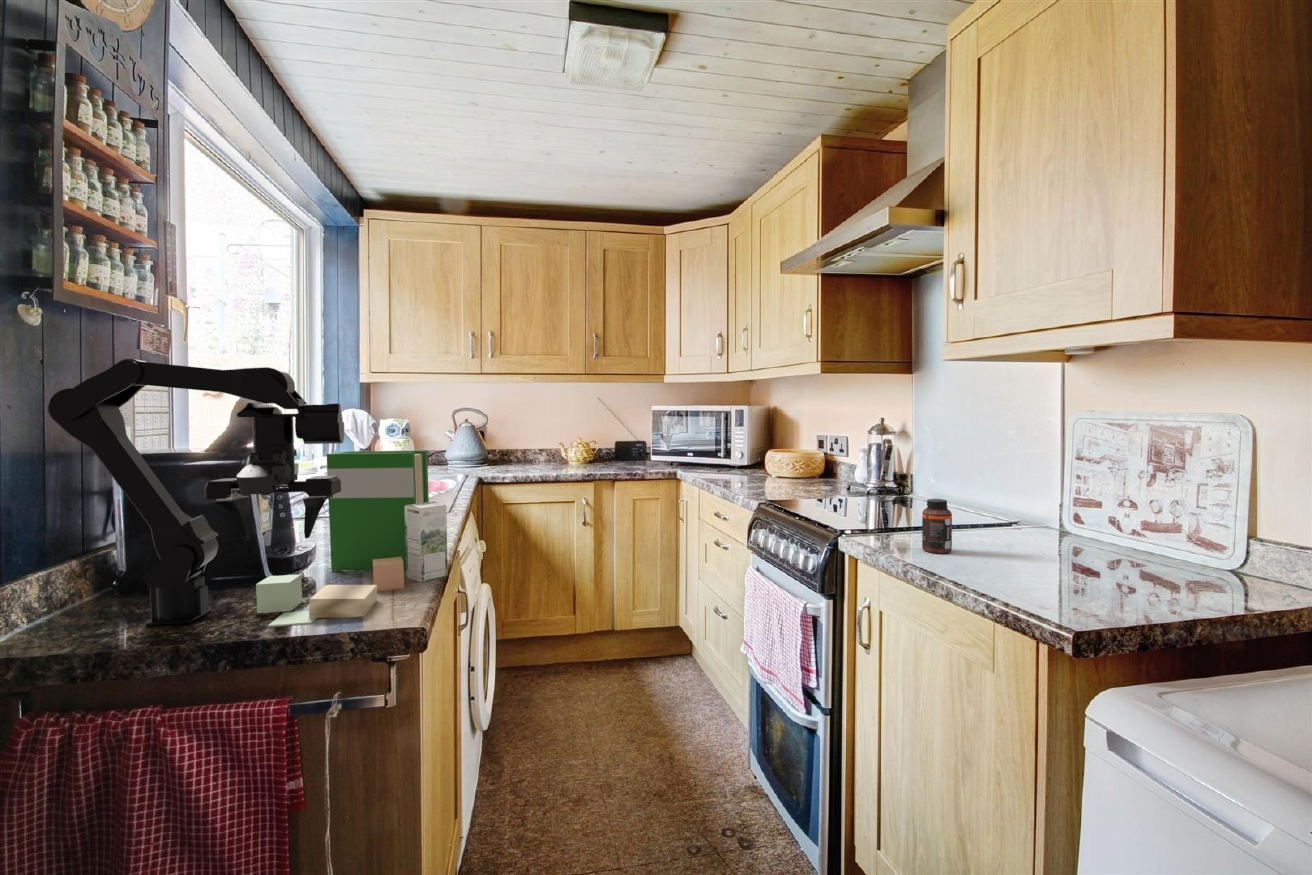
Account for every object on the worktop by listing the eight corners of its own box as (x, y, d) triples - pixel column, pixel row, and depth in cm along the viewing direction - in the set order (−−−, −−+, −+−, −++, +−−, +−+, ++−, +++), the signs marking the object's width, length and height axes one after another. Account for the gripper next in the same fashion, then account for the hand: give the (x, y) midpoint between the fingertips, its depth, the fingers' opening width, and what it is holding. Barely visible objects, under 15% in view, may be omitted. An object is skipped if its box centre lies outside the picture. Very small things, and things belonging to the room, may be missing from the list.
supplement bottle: (956, 554, 135) (957, 501, 134) (928, 554, 135) (929, 502, 134) (944, 547, 141) (944, 497, 140) (917, 548, 141) (917, 498, 140)
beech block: (308, 617, 98) (309, 598, 98) (325, 602, 106) (326, 584, 106) (363, 617, 100) (364, 598, 99) (376, 602, 107) (377, 584, 107)
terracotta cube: (374, 593, 113) (373, 565, 113) (373, 586, 117) (372, 559, 117) (404, 589, 115) (403, 562, 115) (402, 582, 120) (401, 556, 119)
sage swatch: (268, 627, 95) (268, 625, 95) (284, 615, 101) (283, 612, 101) (311, 624, 96) (311, 622, 96) (324, 612, 102) (324, 609, 102)
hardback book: (430, 561, 135) (427, 450, 134) (416, 570, 128) (412, 452, 127) (350, 562, 136) (345, 451, 135) (331, 571, 129) (326, 454, 127)
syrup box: (432, 572, 126) (430, 500, 126) (449, 577, 123) (446, 503, 122) (405, 578, 122) (403, 504, 121) (422, 583, 118) (419, 507, 117)
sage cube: (257, 614, 102) (255, 584, 102) (270, 605, 107) (268, 576, 106) (291, 612, 103) (289, 582, 102) (302, 603, 108) (301, 574, 107)
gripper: (182, 449, 94) (187, 552, 94) (318, 446, 97) (321, 547, 98) (220, 444, 105) (223, 538, 105) (340, 443, 108) (343, 533, 109)
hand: (277, 539), depth 104 cm, fingers open, 9 cm apart
